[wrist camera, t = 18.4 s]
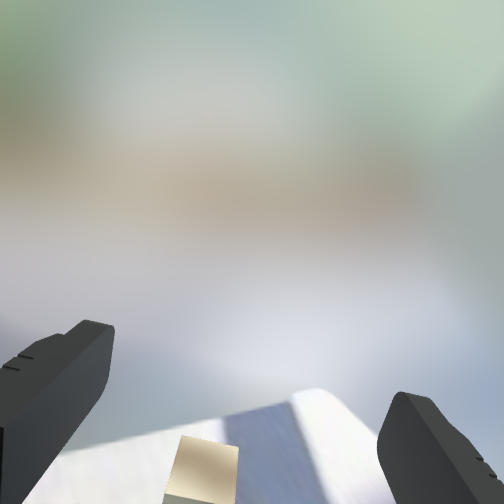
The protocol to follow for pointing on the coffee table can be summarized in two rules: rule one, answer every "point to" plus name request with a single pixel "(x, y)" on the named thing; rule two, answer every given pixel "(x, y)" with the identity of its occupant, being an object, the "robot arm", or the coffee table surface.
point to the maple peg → (202, 473)
